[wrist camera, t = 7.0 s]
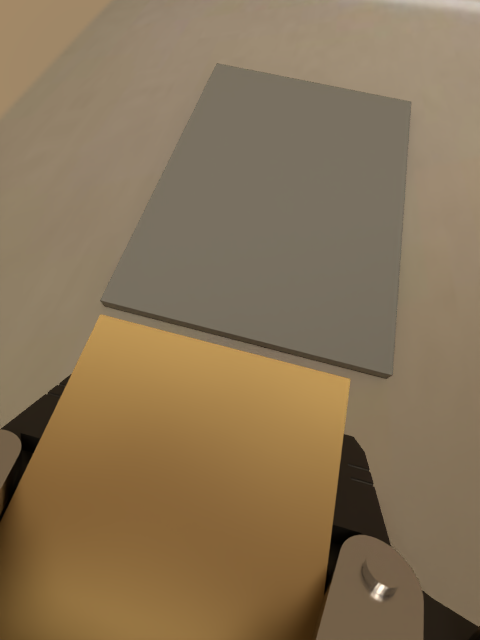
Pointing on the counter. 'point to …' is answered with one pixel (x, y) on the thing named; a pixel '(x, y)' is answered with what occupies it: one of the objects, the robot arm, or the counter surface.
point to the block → (175, 496)
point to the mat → (278, 221)
